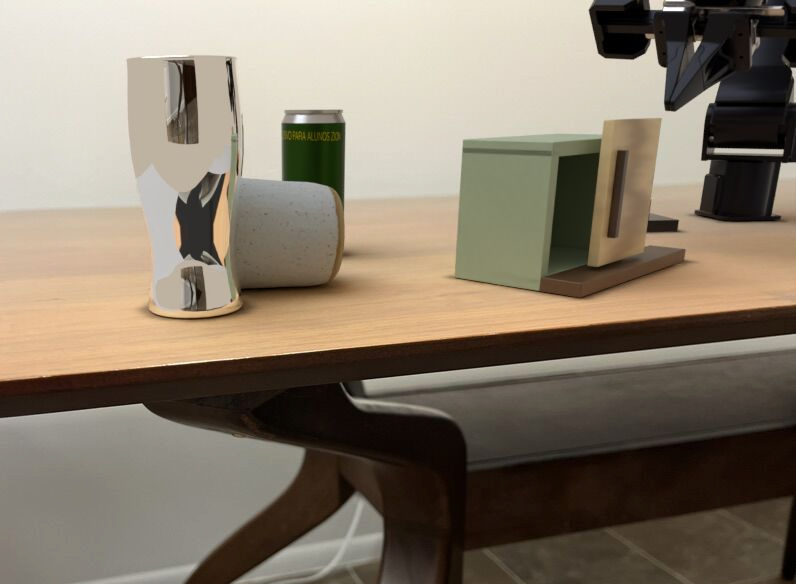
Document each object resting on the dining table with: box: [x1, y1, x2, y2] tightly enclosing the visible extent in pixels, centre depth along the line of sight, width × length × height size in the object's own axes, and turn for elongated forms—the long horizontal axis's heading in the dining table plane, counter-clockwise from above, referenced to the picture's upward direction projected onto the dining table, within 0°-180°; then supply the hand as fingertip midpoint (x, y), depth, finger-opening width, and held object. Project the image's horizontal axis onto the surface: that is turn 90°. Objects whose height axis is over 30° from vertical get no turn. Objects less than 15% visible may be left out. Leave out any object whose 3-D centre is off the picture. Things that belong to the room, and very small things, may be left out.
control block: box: [646, 201, 680, 233], centre depth 84 cm, size 10×7×3 cm
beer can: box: [280, 109, 347, 213], centre depth 69 cm, size 5×5×12 cm
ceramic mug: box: [235, 177, 346, 290], centre depth 59 cm, size 11×8×8 cm
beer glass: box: [125, 54, 245, 319], centre depth 50 cm, size 7×7×15 cm
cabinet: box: [454, 133, 687, 299], centre depth 62 cm, size 18×10×10 cm, turn 135°
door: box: [587, 117, 663, 267], centre depth 59 cm, size 8×1×10 cm, turn 135°
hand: (669, 107), depth 65 cm, fingers closed
